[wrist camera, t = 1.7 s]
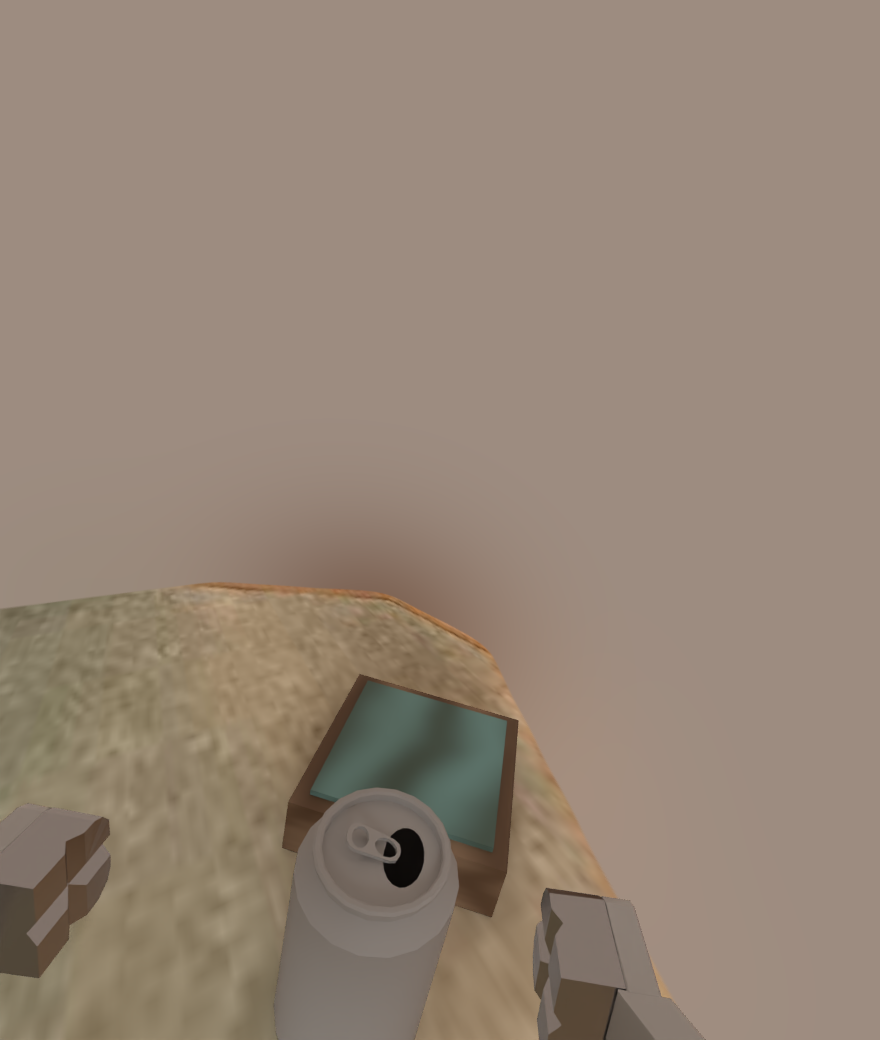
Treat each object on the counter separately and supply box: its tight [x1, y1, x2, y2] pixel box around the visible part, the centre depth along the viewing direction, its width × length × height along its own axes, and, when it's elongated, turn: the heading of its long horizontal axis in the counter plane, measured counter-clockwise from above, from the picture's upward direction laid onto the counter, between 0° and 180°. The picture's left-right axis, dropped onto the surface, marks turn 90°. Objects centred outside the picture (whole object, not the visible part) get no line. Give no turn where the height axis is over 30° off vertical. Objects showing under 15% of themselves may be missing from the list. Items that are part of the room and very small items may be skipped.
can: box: [274, 788, 459, 1040], centre depth 26 cm, size 8×8×12 cm
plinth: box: [282, 674, 518, 917], centre depth 41 cm, size 14×14×4 cm
